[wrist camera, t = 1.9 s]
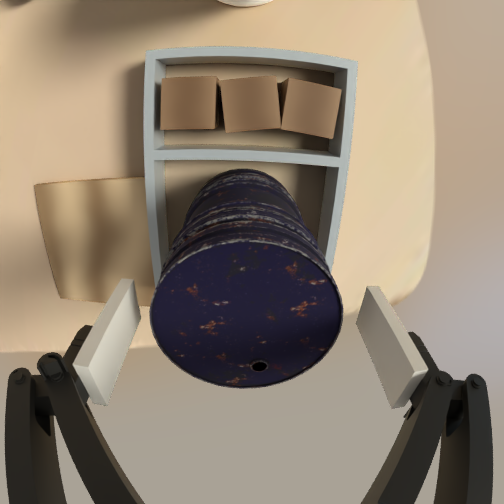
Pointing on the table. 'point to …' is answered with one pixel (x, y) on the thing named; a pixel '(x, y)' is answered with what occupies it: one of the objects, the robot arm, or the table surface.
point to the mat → (97, 237)
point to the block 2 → (250, 103)
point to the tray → (332, 158)
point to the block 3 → (308, 107)
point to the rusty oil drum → (245, 287)
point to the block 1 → (190, 102)
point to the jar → (245, 2)
